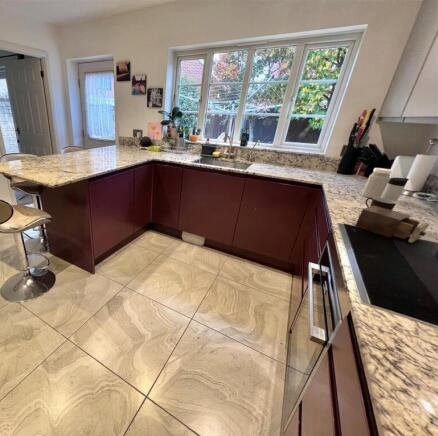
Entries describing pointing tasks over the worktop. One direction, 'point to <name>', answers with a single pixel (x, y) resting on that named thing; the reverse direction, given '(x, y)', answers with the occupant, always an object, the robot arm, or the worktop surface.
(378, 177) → the jar
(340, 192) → the worktop surface
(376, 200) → the coffee mug
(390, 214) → the cabinet
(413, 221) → the drawer
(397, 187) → the travel mug
